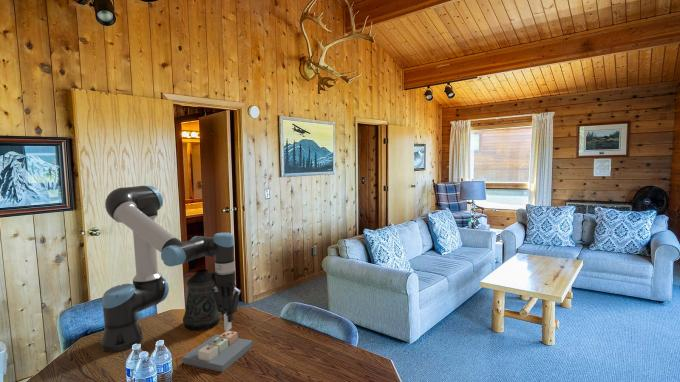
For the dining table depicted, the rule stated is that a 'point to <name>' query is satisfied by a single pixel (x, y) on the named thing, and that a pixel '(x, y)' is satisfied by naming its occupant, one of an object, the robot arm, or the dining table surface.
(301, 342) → the dining table surface
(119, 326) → the robot arm
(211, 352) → the cream square block
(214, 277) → the beer stein
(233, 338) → the pink square block
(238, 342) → the button board
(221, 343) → the pale green block
